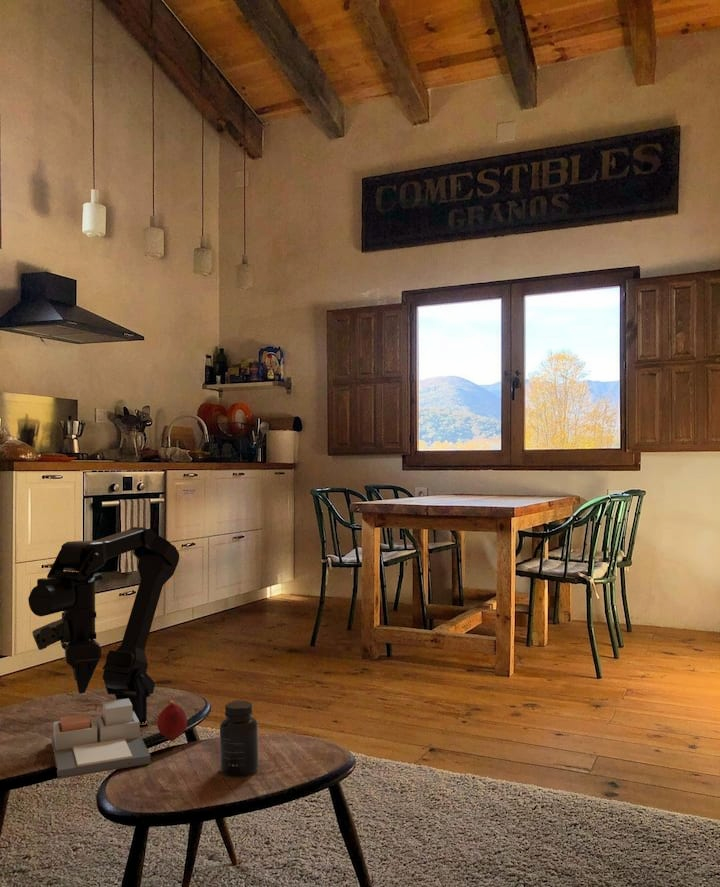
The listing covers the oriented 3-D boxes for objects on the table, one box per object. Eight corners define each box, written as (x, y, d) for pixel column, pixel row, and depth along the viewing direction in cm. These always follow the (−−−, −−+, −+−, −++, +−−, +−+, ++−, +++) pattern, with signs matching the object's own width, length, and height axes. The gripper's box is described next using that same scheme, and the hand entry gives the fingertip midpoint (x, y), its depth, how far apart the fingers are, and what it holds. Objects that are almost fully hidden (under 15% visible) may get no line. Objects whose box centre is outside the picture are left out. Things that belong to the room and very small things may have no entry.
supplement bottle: (227, 761, 146) (227, 697, 146) (262, 764, 145) (262, 698, 145) (214, 777, 139) (214, 709, 139) (251, 779, 138) (251, 711, 138)
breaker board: (134, 730, 162) (134, 708, 162) (150, 763, 145) (150, 739, 145) (51, 742, 156) (51, 720, 156) (58, 778, 138) (58, 753, 138)
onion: (185, 733, 160) (185, 694, 160) (188, 743, 155) (188, 703, 155) (156, 737, 158) (156, 697, 159) (158, 747, 153) (158, 706, 153)
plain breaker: (128, 717, 159) (128, 698, 159) (132, 725, 155) (132, 705, 155) (102, 721, 157) (102, 701, 157) (106, 729, 153) (106, 708, 153)
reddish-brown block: (87, 733, 156) (87, 713, 156) (89, 742, 152) (89, 721, 152) (60, 737, 154) (60, 717, 154) (62, 746, 149) (62, 725, 149)
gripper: (33, 601, 158) (33, 678, 158) (36, 619, 141) (36, 706, 141) (91, 597, 163) (91, 672, 163) (101, 614, 146) (101, 698, 146)
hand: (79, 686), depth 153 cm, fingers open, 9 cm apart
